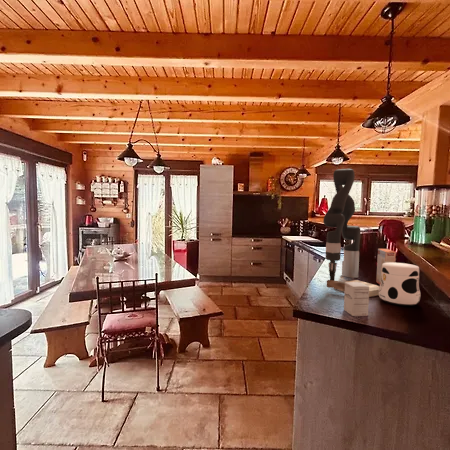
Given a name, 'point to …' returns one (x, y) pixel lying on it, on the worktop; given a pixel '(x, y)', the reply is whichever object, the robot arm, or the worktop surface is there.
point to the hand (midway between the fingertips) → (332, 282)
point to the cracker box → (384, 261)
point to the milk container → (400, 284)
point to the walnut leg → (336, 284)
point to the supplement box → (356, 298)
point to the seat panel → (372, 288)
